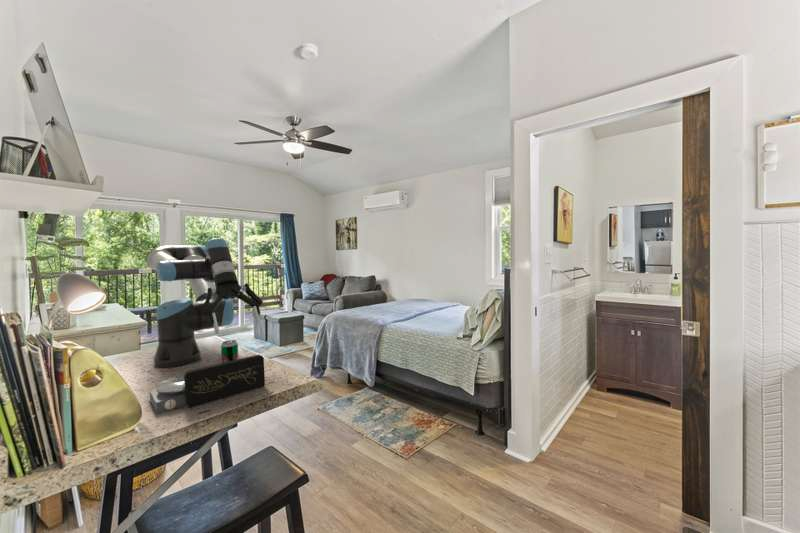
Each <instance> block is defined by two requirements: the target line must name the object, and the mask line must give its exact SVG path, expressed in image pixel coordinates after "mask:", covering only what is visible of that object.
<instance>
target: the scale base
mask: <svg viewBox="0 0 800 533" xmlns="http://www.w3.org/2000/svg"><path fill="white" fill-rule="evenodd" d="M149 401H150V403H151V405H152V407H153V409H154V410H155V412H156V414H157V415H159V414H161V413H164V412H168V411H171V410H174V409H178V408H181V407H184V406H187V405H186V397H185V391H182V392H178V393H170V394H163V393H158V392H157V390H156V388H152V389H149Z"/></svg>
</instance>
